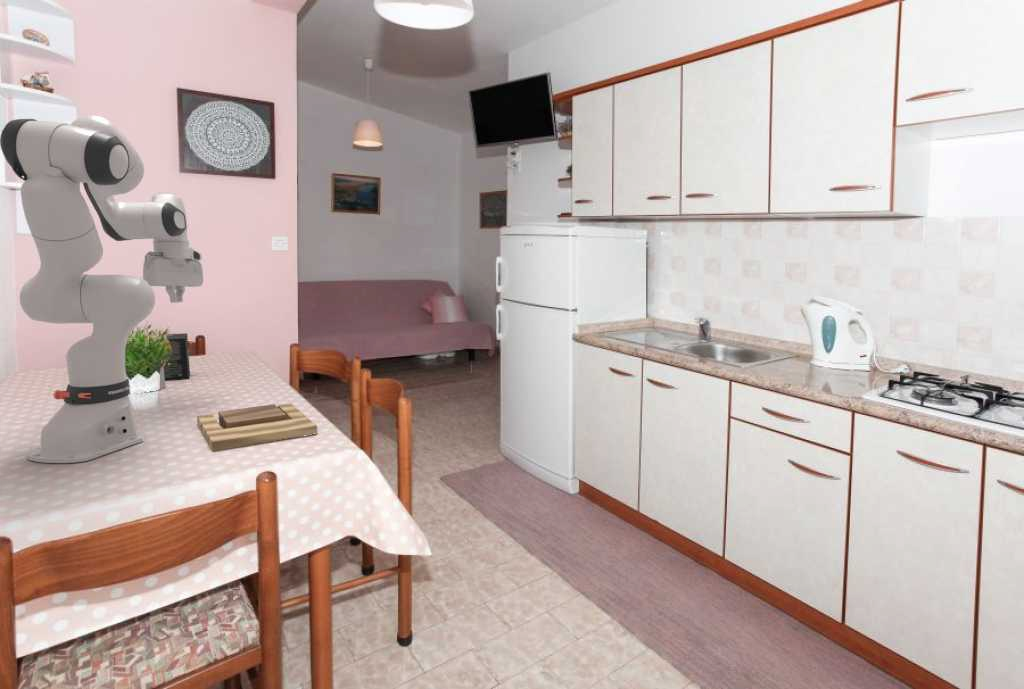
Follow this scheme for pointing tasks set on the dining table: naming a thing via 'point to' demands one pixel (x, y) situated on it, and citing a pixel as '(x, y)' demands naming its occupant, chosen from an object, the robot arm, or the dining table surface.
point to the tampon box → (177, 358)
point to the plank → (250, 416)
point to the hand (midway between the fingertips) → (176, 302)
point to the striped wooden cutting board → (256, 430)
